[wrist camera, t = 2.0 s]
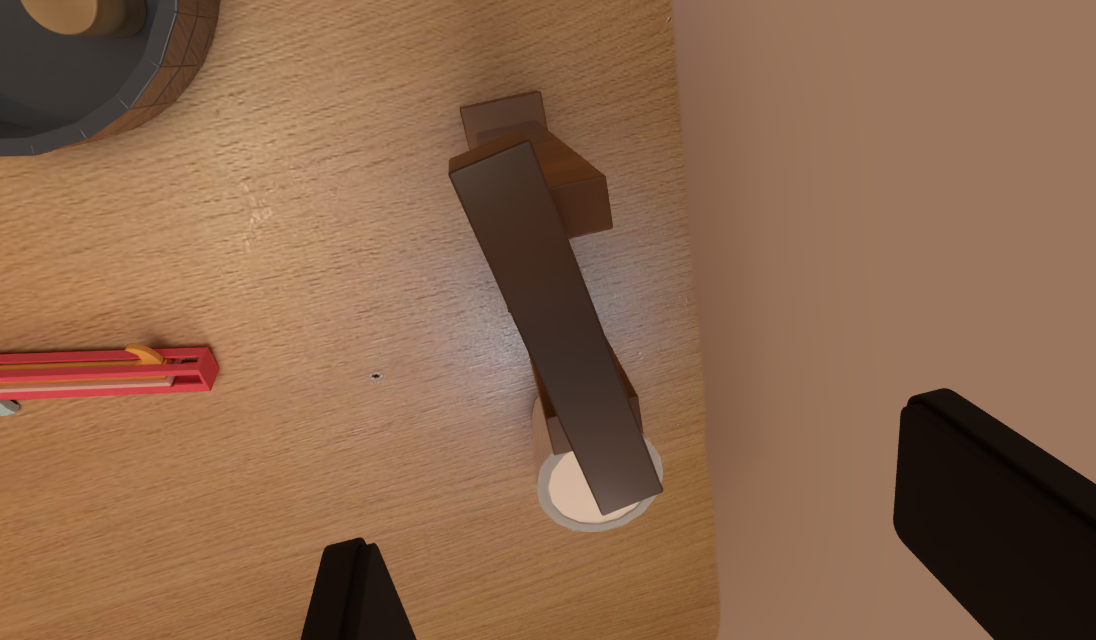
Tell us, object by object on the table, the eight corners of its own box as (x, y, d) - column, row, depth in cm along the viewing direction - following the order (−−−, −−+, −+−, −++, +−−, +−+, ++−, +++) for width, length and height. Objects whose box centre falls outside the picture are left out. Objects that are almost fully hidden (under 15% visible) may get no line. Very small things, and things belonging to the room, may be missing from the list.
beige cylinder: (577, 342, 36) (603, 404, 29) (650, 405, 38) (689, 474, 32) (499, 418, 37) (508, 492, 31) (575, 474, 40) (598, 553, 33)
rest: (459, 107, 30) (464, 155, 15) (538, 90, 30) (617, 122, 15) (507, 306, 34) (546, 490, 20) (574, 290, 34) (662, 461, 20)
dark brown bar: (448, 159, 15) (447, 173, 13) (521, 128, 15) (530, 138, 13) (588, 475, 20) (602, 517, 18) (645, 452, 20) (664, 492, 18)
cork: (112, -45, 25) (53, -62, 21) (161, 16, 26) (113, 9, 22) (63, -9, 25) (-2, -20, 21) (113, 50, 26) (59, 49, 23)
